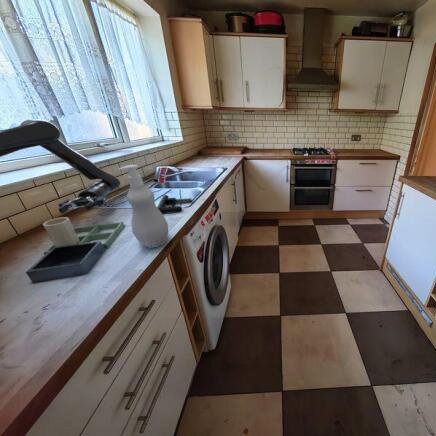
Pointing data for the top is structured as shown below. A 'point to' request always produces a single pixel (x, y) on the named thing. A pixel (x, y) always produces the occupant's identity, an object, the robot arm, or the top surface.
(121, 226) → the green divided tray
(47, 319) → the top surface
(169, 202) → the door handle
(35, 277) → the black tray
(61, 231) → the cup
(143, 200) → the soap bottle
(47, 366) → the top surface
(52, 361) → the top surface
